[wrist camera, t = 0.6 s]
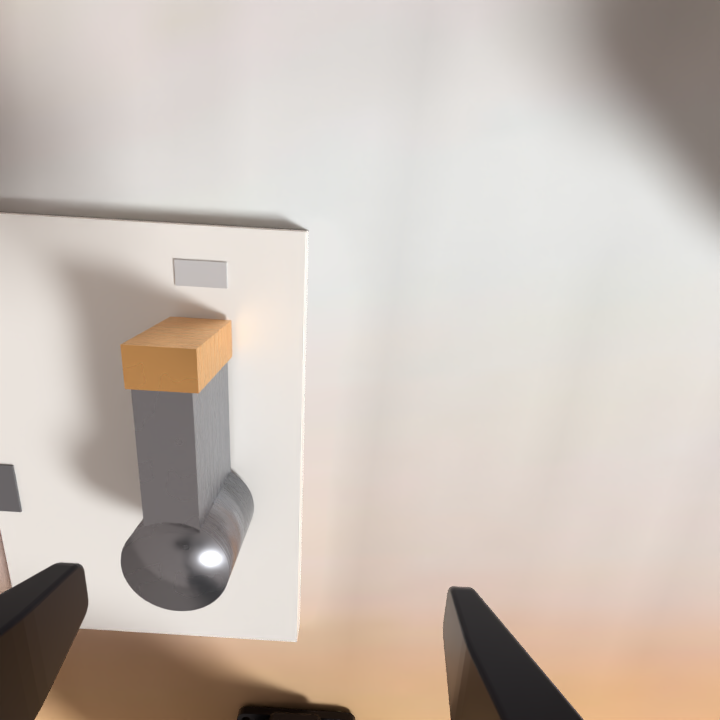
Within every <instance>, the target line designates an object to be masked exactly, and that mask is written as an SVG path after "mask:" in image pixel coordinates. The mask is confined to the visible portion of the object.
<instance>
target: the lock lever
mask: <svg viewBox="0 0 720 720" xmlns="http://www.w3.org/2000/svg"><path fill="white" fill-rule="evenodd" d="M120 347H121V357H122V367H123V377H124V387H125V389H131V396H132V406H133V417H134V427H135V438H136V448H137V459H138V469H139V480H140V490H141V501H142V511H143V519H142V521H141V522H140V523H139V525H138V526H137V527H136V529H135V530H134V532H133V533H132V534H131V536H130V537H129V538H128V540H127V541H126V543H125V545H124V547H123V549H122V553H121V569H122V572H123V575H124V578H125V579H126V581H127V583H128V584H129V586H130V587H131V588H132V590H133V591H134V592H135V593H136V594H137V595H139V596H140V597H141V598H143V599H144V600H145V601H147V602H149V603H151V604H153V605H155V606H157V607H160V608H163V609H167V610H172V611H192V610H197V609H200V608H203V607H205V606H208V605H210V604H211V603H213V602H214V601H215V600H217V599H218V598H219V597H220V596H221V594H222V593H223V592H224V590H225V588H226V586H227V583H228V581H229V578H230V575H231V573H232V570H233V567H234V565H235V562H236V559H237V557H238V554H239V551H240V549H241V546H242V544H243V541H244V538H245V536H246V533H247V530H248V528H249V525H250V522H251V520H252V517H253V513H254V501H253V497H252V494H251V492H250V490H249V488H248V487H247V485H246V484H245V483H244V482H243V481H242V480H241V478H239V477H238V476H237V475H236V474H234V473H232V472H231V462H230V428H229V394H228V361H229V360H230V359H231V357H232V324H231V320H221V319H204V318H187V317H171V316H170V317H169V318H167V319H165V320H163V321H162V322H160V323H158V324H156V325H154V326H153V327H151V328H149V329H147V330H145V331H144V332H142V333H140V334H138V335H137V336H135V337H133V338H131V339H129V340H128V341H126V342H124V343H122V344H120Z"/></svg>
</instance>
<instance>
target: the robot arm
mask: <svg viewBox="0 0 720 720" xmlns="http://www.w3.org/2000/svg"><path fill="white" fill-rule="evenodd" d="M88 602H89V601H88V592H87V585H86V578H85V571H84V568H83V566H82V565H81V564H79V563H66V562H59V563H55V564H53V565H51V566H49V567H48V568H46V569H44V570H42V571H40V572H39V573H37V574H35V575H33V576H32V577H30V578H28V579H26V580H25V581H23V582H21V583H19V584H17V585H16V586H14V587H12V588H10V589H9V590H7V591H5V592H3V593H1V594H0V720H35V718H36V716H37V714H38V712H39V711H40V709H41V707H42V705H43V703H44V701H45V699H46V697H47V695H48V693H49V691H50V689H51V687H52V685H53V683H54V681H55V679H56V676H57V674H58V672H59V670H60V668H61V666H62V664H63V662H64V660H65V658H66V655H67V653H68V651H69V649H70V647H71V645H72V643H73V641H74V639H75V637H76V634H77V632H78V630H79V628H80V626H81V624H82V622H83V620H84V618H85V615H86V613H87V609H88ZM443 639H444V650H445V661H446V672H447V683H448V694H449V705H450V716H451V720H583V718H582V717H581V716H580V715H579V714H578V712H577V711H576V710H575V709H574V708H573V707H572V705H571V704H570V703H569V702H568V701H567V699H566V698H565V697H564V696H563V695H562V693H561V692H560V691H559V690H558V689H557V687H556V686H555V685H554V684H553V683H552V682H551V680H550V679H549V678H548V677H547V676H546V674H545V673H544V672H543V671H542V670H541V668H540V667H539V666H538V665H537V664H536V662H535V661H534V660H533V659H532V658H531V657H530V655H529V654H528V653H527V652H526V651H525V649H524V648H523V647H522V646H521V645H520V643H519V642H518V641H517V640H516V639H515V638H514V636H513V635H512V634H511V633H510V632H509V630H508V629H507V628H506V627H505V626H504V624H503V623H502V622H501V621H500V620H499V619H498V617H497V616H496V615H495V614H494V613H493V611H492V610H491V609H490V608H489V607H488V605H487V604H486V603H485V602H484V601H483V599H482V598H481V597H480V596H479V595H478V594H477V592H476V591H475V590H474V589H472V588H470V587H456V586H452V587H450V588H449V590H448V593H447V600H446V607H445V615H444V622H443ZM237 720H355V717H354V716H353V715H352V714H351V713H346V712H330V711H314V710H298V709H282V708H266V707H250V706H246V707H242V708H241V709H240V711H239V714H238V718H237Z"/></svg>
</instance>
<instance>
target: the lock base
mask: <svg viewBox="0 0 720 720" xmlns="http://www.w3.org/2000/svg"><path fill="white" fill-rule="evenodd" d="M308 241H309V231H306V230H289V229H272V228H255V227H238V226H222V225H205V224H188V223H171V222H154V221H137V220H121V219H104V218H87V217H70V216H53V215H37V214H20V213H3V212H0V530H1V535H2V540H3V545H4V550H5V555H6V560H7V565H8V570H9V575H10V579H11V584H12V587H14V586H16V585H17V584H19V583H21V582H23V581H25V580H26V579H28V578H30V577H32V576H33V575H35V574H37V573H39V572H40V571H42V570H44V569H46V568H48V567H49V566H51V565H53V564H55V563H59V562H66V563H79V564H81V565H82V566H83V568H84V571H85V578H86V585H87V592H88V601H89V602H88V609H87V613H86V615H85V618H84V620H83V622H82V624H81V626H80V629H96V630H112V631H128V632H144V633H160V634H177V635H193V636H209V637H225V638H241V639H257V640H273V641H289V642H297V638H298V632H299V626H300V588H301V545H302V501H303V458H304V415H305V371H306V328H307V284H308ZM170 316H171V317H187V318H204V319H221V320H231V324H232V357H231V359H230V360H229V361H228V394H229V428H230V462H231V472H232V473H234V474H236V475H237V476H238V477H239V478H241V480H242V481H243V482H244V483H245V484H246V485H247V487H248V488H249V490H250V492H251V494H252V497H253V501H254V513H253V517H252V520H251V522H250V525H249V528H248V530H247V533H246V536H245V538H244V541H243V544H242V546H241V549H240V551H239V554H238V557H237V559H236V562H235V565H234V567H233V570H232V573H231V575H230V578H229V581H228V583H227V586H226V588H225V590H224V592H223V593H222V594H221V596H220V597H219V598H218V599H217V600H215V601H214V602H213V603H211V604H210V605H208V606H205V607H203V608H200V609H197V610H192V611H172V610H167V609H163V608H160V607H157V606H155V605H153V604H151V603H149V602H147V601H145V600H144V599H143V598H141V597H140V596H139V595H137V594H136V593H135V592H134V591H133V590H132V588H131V587H130V586H129V584H128V583H127V581H126V579H125V578H124V575H123V572H122V569H121V553H122V549H123V547H124V545H125V543H126V541H127V540H128V538H129V537H130V536H131V534H132V533H133V532H134V530H135V529H136V527H137V526H138V525H139V523H140V522H141V521H142V519H143V511H142V501H141V490H140V480H139V469H138V459H137V448H136V438H135V427H134V417H133V406H132V396H131V389H125V387H124V377H123V367H122V357H121V347H120V344H122V343H124V342H126V341H128V340H129V339H131V338H133V337H135V336H137V335H138V334H140V333H142V332H144V331H145V330H147V329H149V328H151V327H153V326H154V325H156V324H158V323H160V322H162V321H163V320H165V319H167V318H169V317H170Z"/></svg>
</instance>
